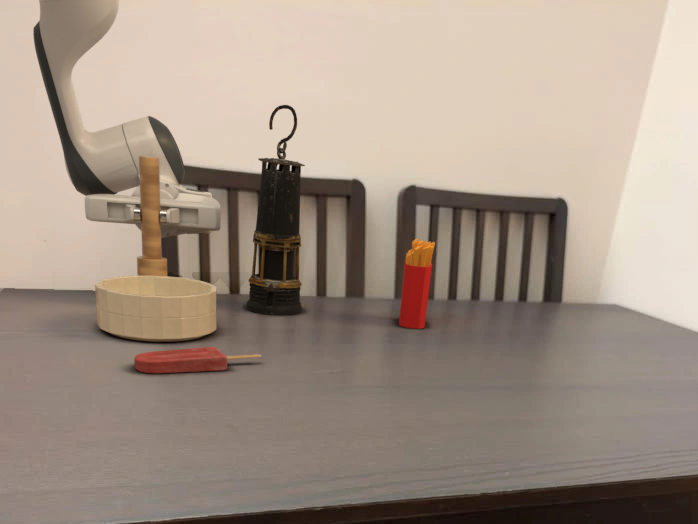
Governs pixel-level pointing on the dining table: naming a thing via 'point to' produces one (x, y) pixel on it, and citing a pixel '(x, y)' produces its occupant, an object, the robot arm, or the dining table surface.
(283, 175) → the lantern
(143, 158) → the stirring stick
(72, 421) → the dining table surface
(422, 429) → the dining table surface
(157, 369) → the popsicle
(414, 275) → the french fries
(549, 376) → the dining table surface
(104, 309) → the bowl
